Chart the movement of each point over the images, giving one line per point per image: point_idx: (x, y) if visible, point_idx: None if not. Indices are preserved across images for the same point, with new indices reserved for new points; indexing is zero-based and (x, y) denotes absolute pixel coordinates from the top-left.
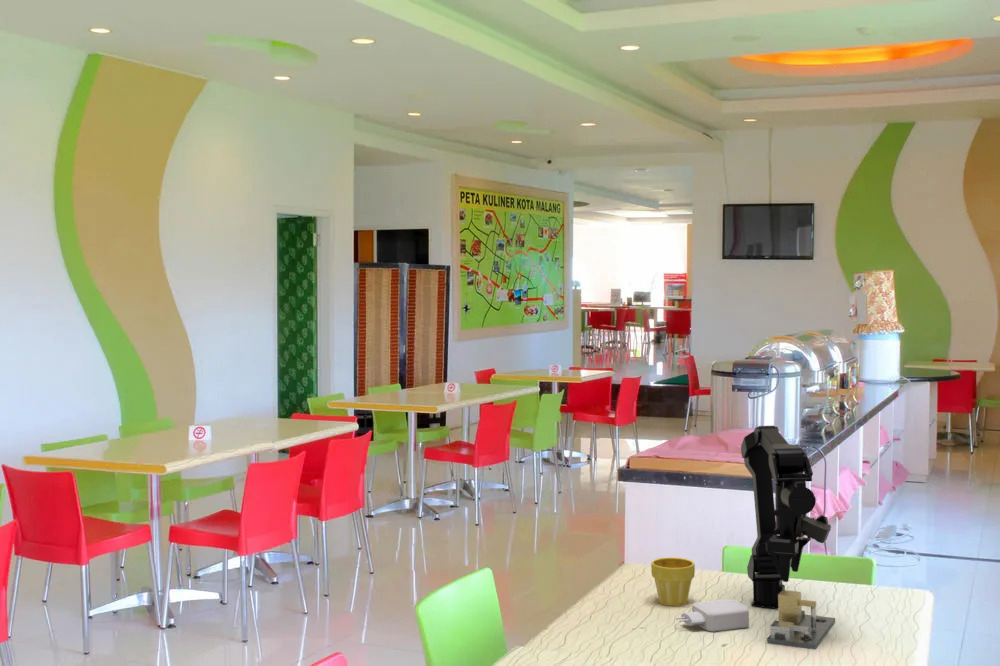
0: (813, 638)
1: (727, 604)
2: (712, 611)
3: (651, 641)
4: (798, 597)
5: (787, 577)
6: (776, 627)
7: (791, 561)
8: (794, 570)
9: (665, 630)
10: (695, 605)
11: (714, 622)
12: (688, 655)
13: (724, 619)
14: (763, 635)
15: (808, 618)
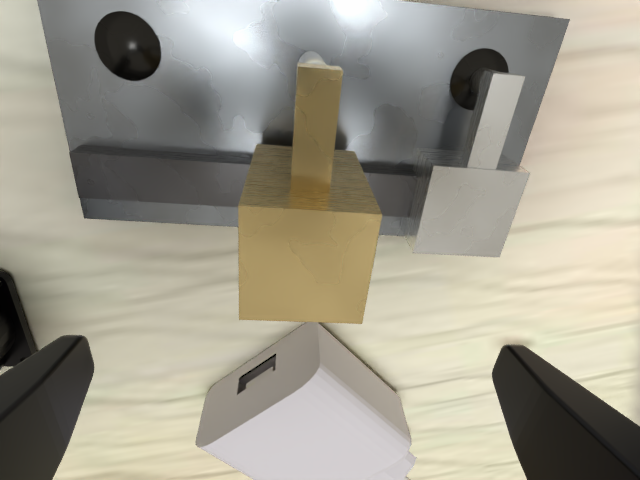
0: (468, 43)
1: (297, 439)
2: (397, 455)
3: (503, 477)
4: (326, 202)
5: (562, 379)
6: (504, 229)
7: (35, 477)
8: (88, 364)
9: (406, 476)
10: None
11: (403, 416)
12: (617, 395)
13: (382, 402)
14: (389, 259)
15: (129, 118)
